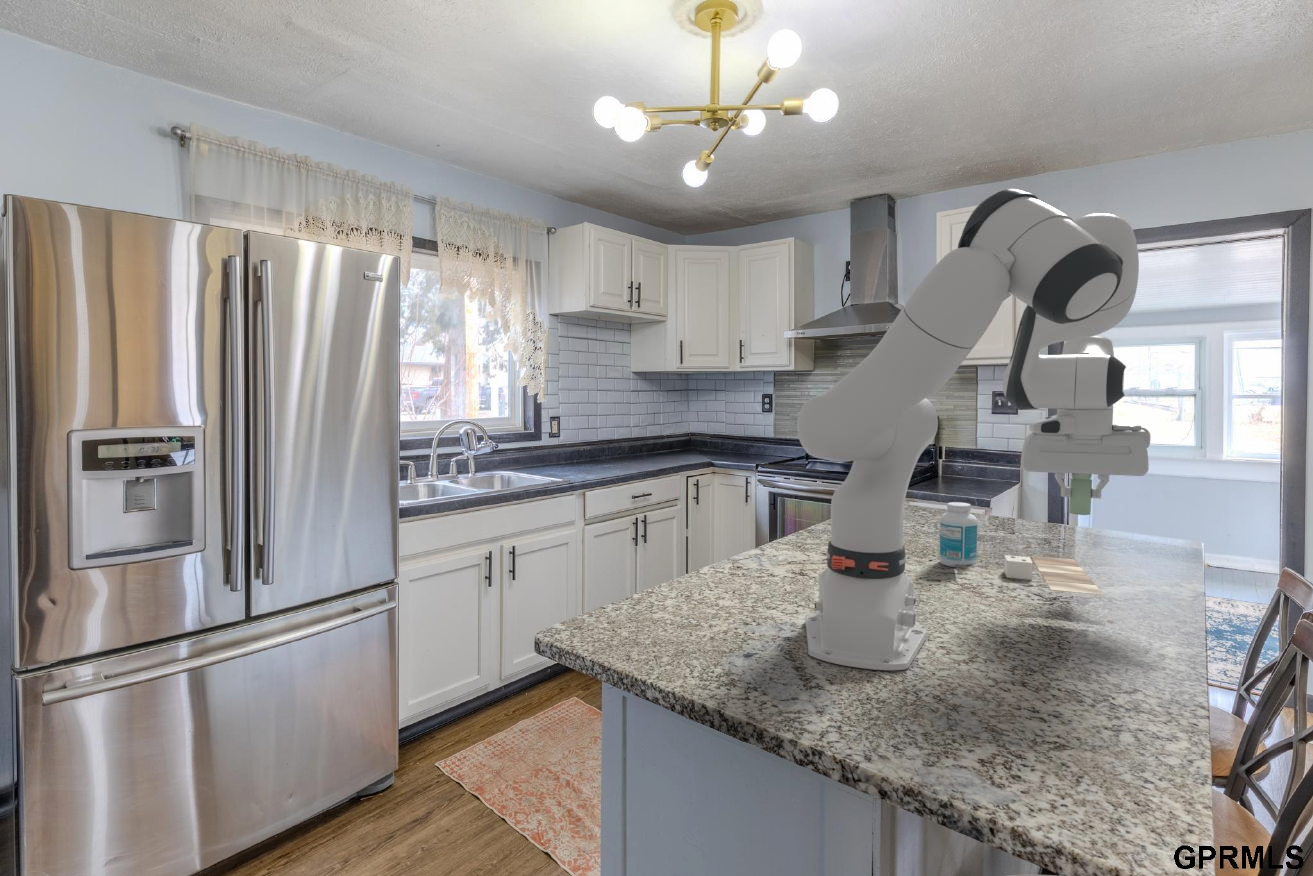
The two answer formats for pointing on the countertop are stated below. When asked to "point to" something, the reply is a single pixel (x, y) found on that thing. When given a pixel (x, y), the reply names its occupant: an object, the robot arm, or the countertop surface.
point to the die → (1018, 567)
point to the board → (1065, 575)
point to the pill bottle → (958, 535)
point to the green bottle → (1080, 494)
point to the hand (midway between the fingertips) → (1080, 497)
